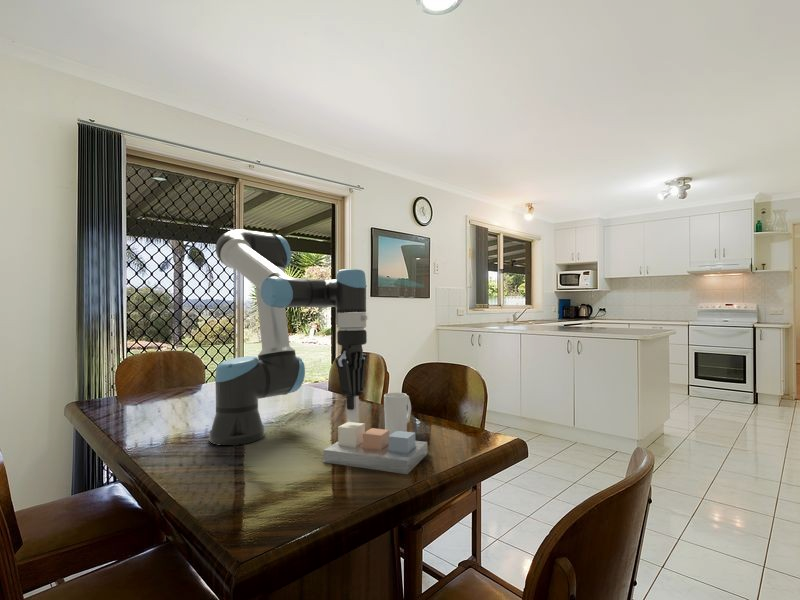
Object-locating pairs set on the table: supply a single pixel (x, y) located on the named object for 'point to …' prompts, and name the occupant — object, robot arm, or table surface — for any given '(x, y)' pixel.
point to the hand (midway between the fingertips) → (352, 421)
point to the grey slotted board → (375, 457)
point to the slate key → (402, 442)
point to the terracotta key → (376, 439)
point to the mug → (396, 412)
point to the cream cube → (351, 434)
